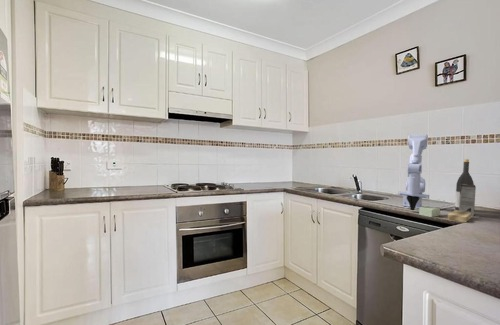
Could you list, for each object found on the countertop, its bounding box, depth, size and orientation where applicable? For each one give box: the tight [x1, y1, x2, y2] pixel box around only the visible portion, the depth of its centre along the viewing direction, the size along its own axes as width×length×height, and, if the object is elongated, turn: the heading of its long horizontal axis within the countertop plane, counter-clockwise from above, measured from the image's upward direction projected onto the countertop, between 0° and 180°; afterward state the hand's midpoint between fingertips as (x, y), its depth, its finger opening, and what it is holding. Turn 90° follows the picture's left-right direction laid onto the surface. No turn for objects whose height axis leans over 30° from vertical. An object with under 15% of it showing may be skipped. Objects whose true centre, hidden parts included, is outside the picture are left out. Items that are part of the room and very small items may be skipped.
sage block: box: [418, 205, 441, 218], centre depth 136 cm, size 6×8×4 cm
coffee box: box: [458, 184, 477, 217], centre depth 141 cm, size 9×6×16 cm
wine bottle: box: [454, 158, 475, 211], centre depth 151 cm, size 8×8×30 cm
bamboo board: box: [446, 209, 473, 223], centre depth 129 cm, size 7×16×2 cm, turn 131°
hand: (412, 209), depth 142 cm, fingers closed
